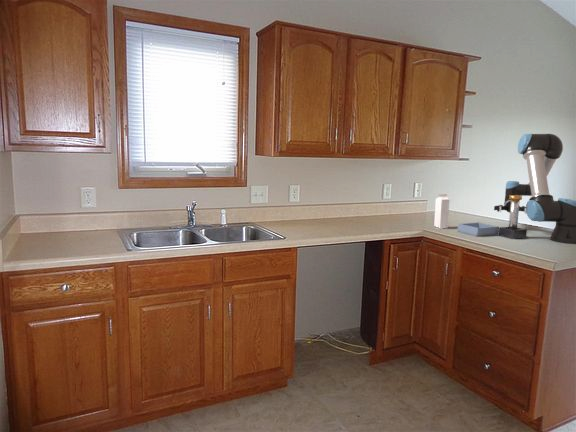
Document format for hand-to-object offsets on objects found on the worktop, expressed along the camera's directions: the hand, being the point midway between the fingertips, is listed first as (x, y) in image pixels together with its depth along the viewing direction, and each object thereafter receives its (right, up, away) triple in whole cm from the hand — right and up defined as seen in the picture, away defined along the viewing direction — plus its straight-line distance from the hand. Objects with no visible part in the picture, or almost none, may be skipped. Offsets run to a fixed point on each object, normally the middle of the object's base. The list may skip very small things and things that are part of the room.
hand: (513, 210), depth 252 cm
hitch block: (-5, -15, -7) cm, 18 cm away
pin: (-5, -15, -7) cm, 18 cm away
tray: (-20, -14, +3) cm, 24 cm away
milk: (-36, -11, +20) cm, 43 cm away
